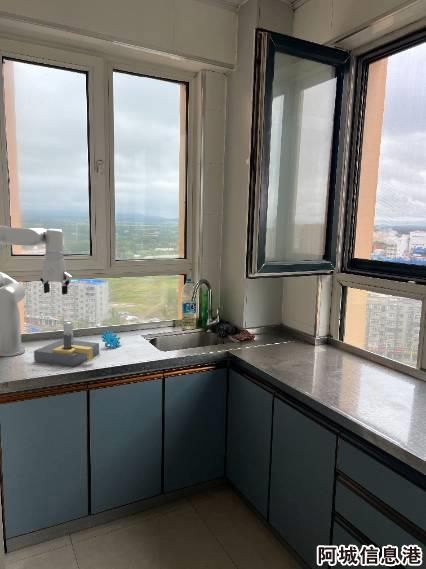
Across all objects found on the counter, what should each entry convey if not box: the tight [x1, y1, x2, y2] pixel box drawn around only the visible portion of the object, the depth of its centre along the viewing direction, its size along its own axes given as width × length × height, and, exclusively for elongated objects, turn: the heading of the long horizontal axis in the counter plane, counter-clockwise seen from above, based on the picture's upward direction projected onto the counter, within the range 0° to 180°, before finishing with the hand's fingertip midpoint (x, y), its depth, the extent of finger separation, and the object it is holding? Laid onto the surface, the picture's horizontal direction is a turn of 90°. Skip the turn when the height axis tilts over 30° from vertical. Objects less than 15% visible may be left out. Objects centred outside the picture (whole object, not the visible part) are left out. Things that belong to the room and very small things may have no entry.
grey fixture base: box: [33, 320, 100, 368], centre depth 193 cm, size 20×20×15 cm
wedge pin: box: [63, 333, 71, 350], centre depth 188 cm, size 3×3×12 cm
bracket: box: [53, 345, 94, 361], centre depth 188 cm, size 16×9×5 cm, turn 73°
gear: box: [101, 330, 122, 350], centre depth 212 cm, size 11×6×10 cm
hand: (55, 293), depth 197 cm, fingers open, 9 cm apart
